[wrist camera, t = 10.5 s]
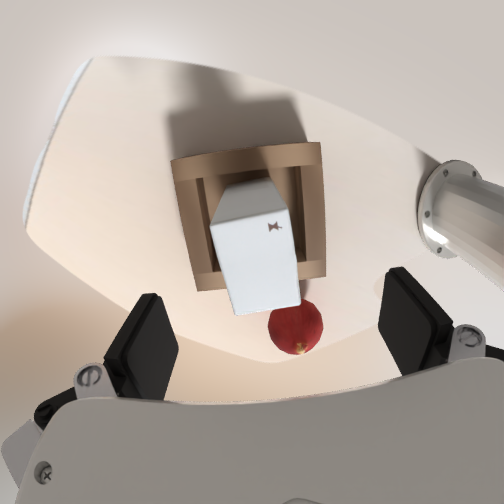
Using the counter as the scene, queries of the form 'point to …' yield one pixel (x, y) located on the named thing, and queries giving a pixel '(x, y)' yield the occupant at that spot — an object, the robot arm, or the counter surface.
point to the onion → (296, 327)
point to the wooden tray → (244, 169)
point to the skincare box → (256, 247)
